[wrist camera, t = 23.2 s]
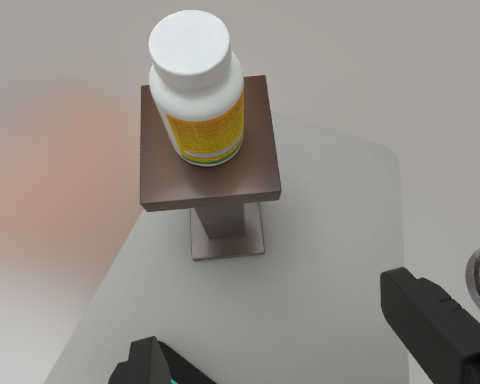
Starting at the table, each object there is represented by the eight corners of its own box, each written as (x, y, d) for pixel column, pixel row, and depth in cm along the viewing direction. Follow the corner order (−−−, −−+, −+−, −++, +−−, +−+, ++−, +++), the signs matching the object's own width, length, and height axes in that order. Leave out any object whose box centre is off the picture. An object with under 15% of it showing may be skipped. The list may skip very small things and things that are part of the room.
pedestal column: (256, 188, 52) (264, 84, 29) (264, 254, 49) (280, 197, 25) (190, 194, 52) (144, 94, 29) (193, 260, 48) (144, 209, 25)
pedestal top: (264, 90, 29) (265, 74, 28) (279, 200, 26) (281, 191, 24) (147, 100, 29) (140, 85, 27) (147, 212, 26) (139, 204, 24)
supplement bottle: (158, 133, 26) (111, 35, 17) (213, 93, 27) (197, -19, 18) (203, 183, 24) (177, 106, 15) (259, 139, 26) (266, 43, 17)
